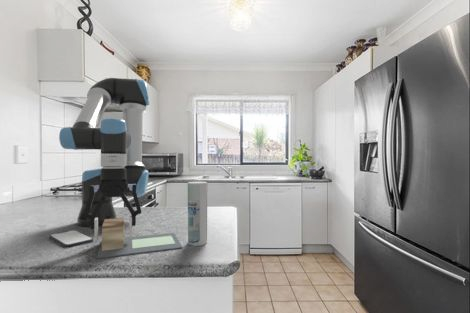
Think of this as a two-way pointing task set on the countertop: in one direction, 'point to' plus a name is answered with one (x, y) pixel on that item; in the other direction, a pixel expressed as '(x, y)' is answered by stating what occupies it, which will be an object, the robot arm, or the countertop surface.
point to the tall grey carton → (197, 213)
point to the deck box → (113, 234)
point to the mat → (143, 245)
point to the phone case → (70, 238)
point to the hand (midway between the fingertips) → (113, 237)
